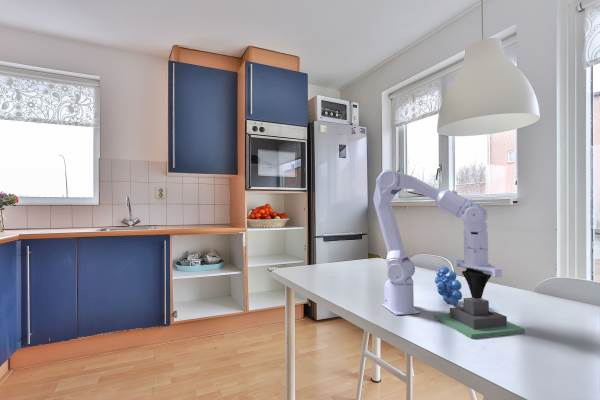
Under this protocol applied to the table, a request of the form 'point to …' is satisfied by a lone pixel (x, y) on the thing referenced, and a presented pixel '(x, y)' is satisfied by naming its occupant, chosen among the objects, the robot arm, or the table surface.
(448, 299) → the grapes
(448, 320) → the board
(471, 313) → the plug
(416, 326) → the table surface
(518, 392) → the table surface
